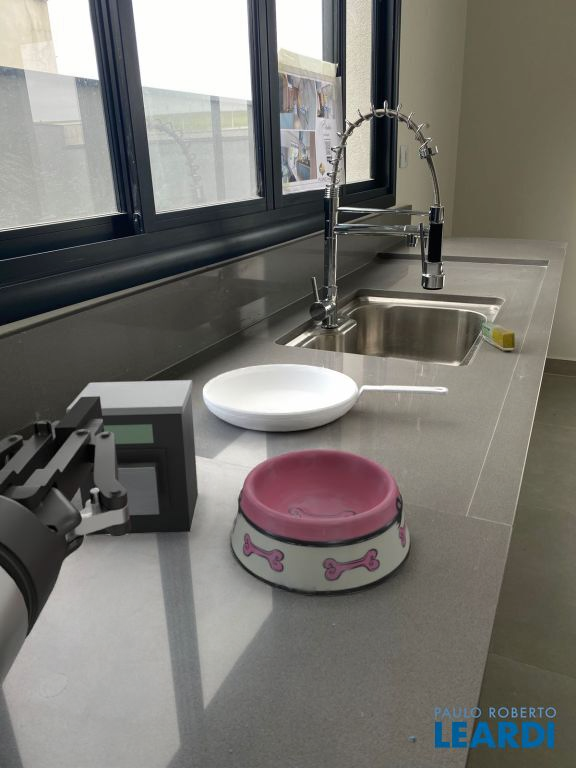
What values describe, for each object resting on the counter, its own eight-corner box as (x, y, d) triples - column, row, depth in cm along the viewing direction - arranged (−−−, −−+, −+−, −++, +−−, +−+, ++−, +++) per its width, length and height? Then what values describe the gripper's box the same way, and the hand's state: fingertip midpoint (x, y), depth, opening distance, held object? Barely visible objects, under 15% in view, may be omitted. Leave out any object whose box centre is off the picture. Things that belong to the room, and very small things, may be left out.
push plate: (159, 514, 60) (155, 467, 59) (98, 516, 60) (92, 469, 59) (161, 508, 61) (157, 461, 60) (101, 510, 61) (96, 463, 60)
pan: (224, 382, 112) (223, 360, 111) (439, 389, 107) (440, 366, 106) (183, 435, 89) (181, 408, 88) (455, 448, 83) (458, 419, 82)
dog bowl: (412, 606, 53) (417, 538, 50) (207, 585, 56) (203, 520, 53) (409, 501, 70) (412, 447, 68) (252, 490, 73) (250, 438, 71)
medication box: (481, 339, 140) (480, 322, 139) (492, 337, 141) (492, 321, 139) (503, 351, 129) (503, 333, 128) (515, 350, 129) (515, 331, 128)
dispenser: (191, 533, 64) (182, 406, 59) (83, 537, 64) (65, 409, 59) (200, 494, 72) (192, 379, 68) (103, 497, 72) (89, 382, 67)
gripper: (-185, 680, 27) (18, 457, 50) (106, 668, 28) (177, 452, 50) (-233, 535, 25) (3, 370, 47) (86, 524, 25) (170, 365, 48)
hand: (92, 412), depth 49 cm, fingers closed
